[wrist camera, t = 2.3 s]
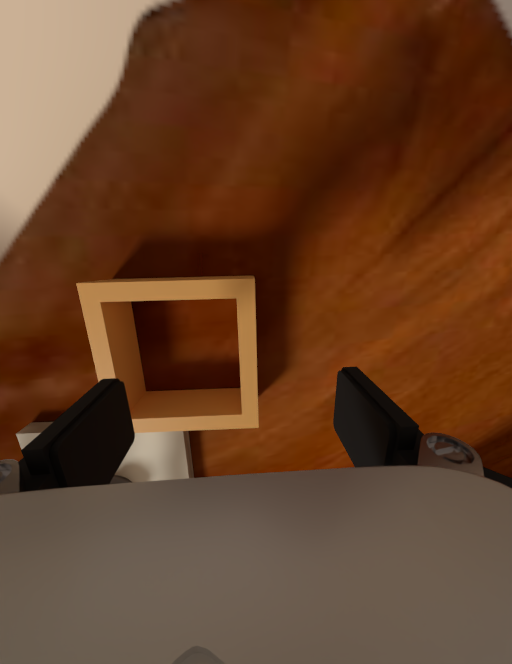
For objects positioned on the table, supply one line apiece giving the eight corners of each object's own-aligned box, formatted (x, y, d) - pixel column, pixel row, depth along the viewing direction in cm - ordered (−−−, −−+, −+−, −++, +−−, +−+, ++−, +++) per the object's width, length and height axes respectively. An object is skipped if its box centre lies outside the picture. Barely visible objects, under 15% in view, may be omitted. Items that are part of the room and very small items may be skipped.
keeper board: (186, 416, 22) (171, 453, 18) (200, 527, 26) (190, 580, 22) (31, 422, 22) (-22, 461, 17) (68, 534, 26) (32, 589, 21)
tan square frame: (253, 275, 19) (254, 278, 15) (256, 398, 22) (258, 427, 18) (111, 279, 19) (76, 283, 15) (134, 403, 22) (110, 434, 18)
